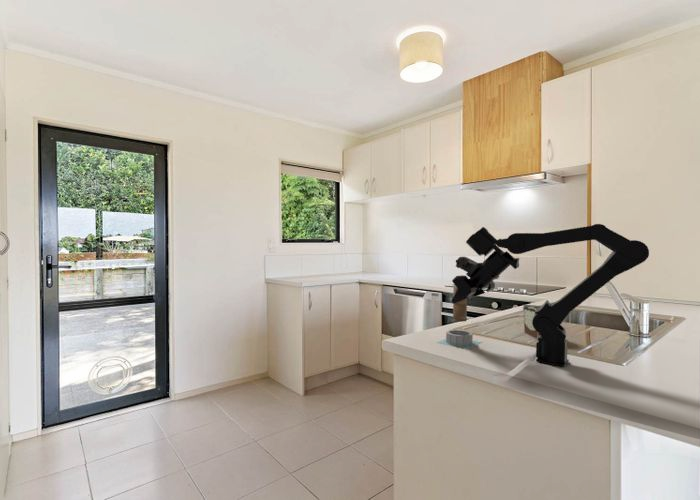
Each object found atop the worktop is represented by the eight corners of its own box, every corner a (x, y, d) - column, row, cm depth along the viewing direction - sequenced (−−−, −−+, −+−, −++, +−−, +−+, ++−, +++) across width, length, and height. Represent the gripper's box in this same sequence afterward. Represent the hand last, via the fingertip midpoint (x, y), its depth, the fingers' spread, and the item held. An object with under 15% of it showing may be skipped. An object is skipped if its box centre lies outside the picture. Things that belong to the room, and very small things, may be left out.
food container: (559, 341, 116) (559, 311, 116) (539, 341, 117) (540, 310, 116) (539, 332, 129) (540, 304, 129) (522, 332, 129) (522, 304, 129)
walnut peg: (468, 320, 111) (469, 284, 110) (463, 322, 108) (463, 285, 108) (456, 318, 113) (456, 283, 113) (450, 320, 110) (451, 284, 110)
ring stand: (481, 345, 111) (481, 332, 111) (467, 352, 103) (467, 338, 103) (451, 339, 118) (451, 327, 118) (436, 345, 110) (436, 332, 110)
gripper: (485, 247, 114) (452, 279, 122) (459, 247, 101) (424, 283, 108) (510, 273, 109) (474, 305, 117) (486, 277, 95) (448, 313, 103)
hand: (455, 301), depth 111 cm, fingers closed on walnut peg, 4 cm apart
